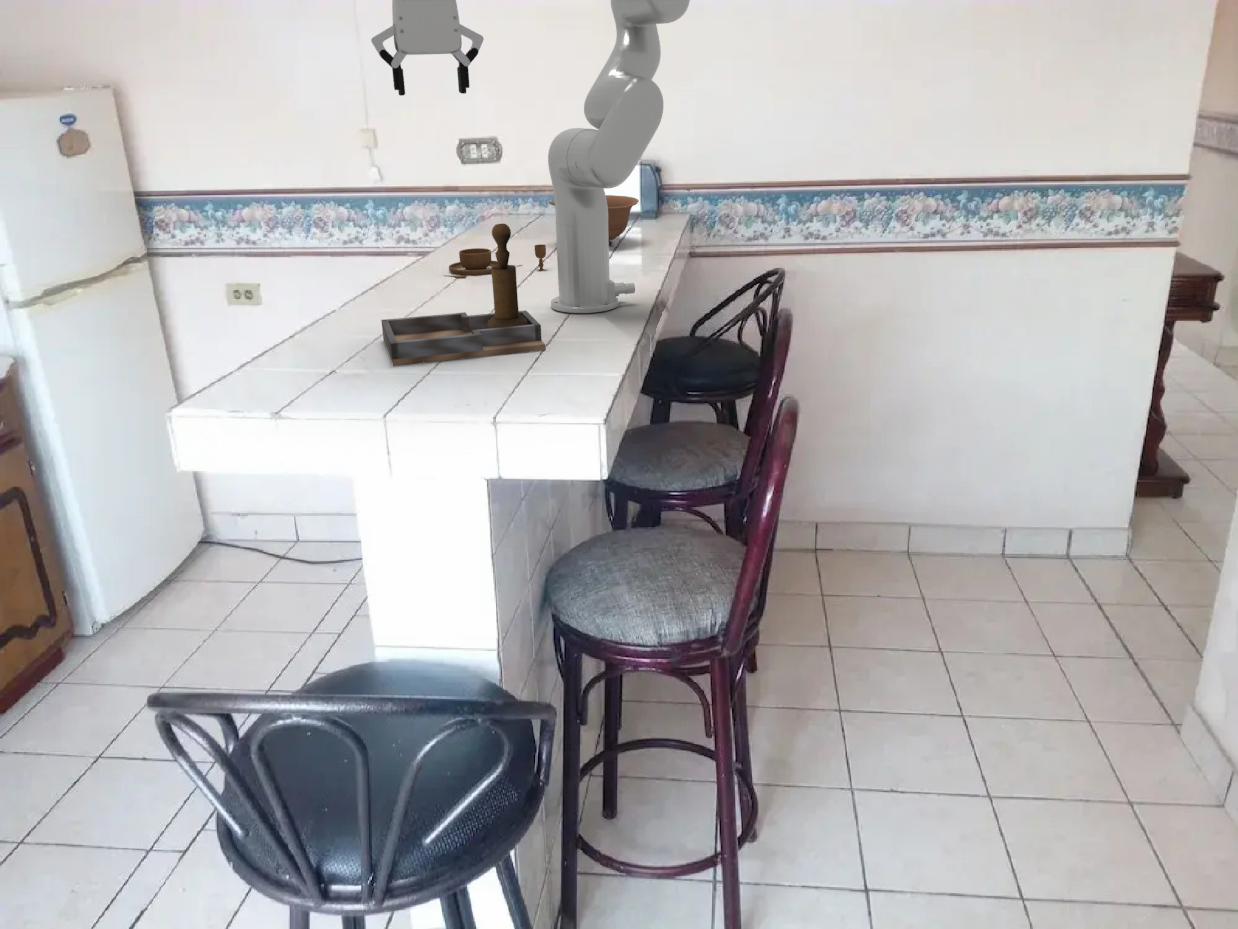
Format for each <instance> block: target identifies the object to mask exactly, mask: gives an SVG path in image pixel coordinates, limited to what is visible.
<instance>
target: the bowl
mask: <svg viewBox="0 0 1238 929" xmlns="http://www.w3.org/2000/svg"><path fill="white" fill-rule="evenodd" d="M605 195H606V200H607V206H608V236H609V247H611V246H612V245H614V243H613V242H612V240H615V239H616V238H618V237H619V236H621V235H623V234H624V232H625V231H626V229H627V227H628V224H629V218H630V213H631V210H632V207H634V206H636V205H637V204H638V203H639V199H638V198H636V197H632V196H626V195H614V194H613V195H611V194H610V195H608V194H605ZM548 204H550V205H551V206H554V207H555V200H549V201H548Z"/></svg>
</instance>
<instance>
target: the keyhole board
mask: <svg viewBox="0 0 1238 929" xmlns="http://www.w3.org/2000/svg"><path fill="white" fill-rule="evenodd" d="M519 314H520V315H522V316H523V317H524V318H525V319H527V325H521V326H510V327H500V328H489V329H488V325H487V323H488V321H489V320H490V319H491V318H492V317H493V316H495V312H494V313H484V314H483V313H482V314H473V315H472V314H471V315H470V314H469V315H468V313H466V312H454V313H443V314H434V315H433V314H432V315H423V316H411V317H398V318H387V319H380V320H381V321H380V322H381V328H382V329H381V330H382V337H383V338H382V339H383V342H384V345H385V348H386V351H387V353H388V356H389V358H390V361H391V364H392V366H393V367H394V366H404V365H414V364H424V363H423V362H426V363H434V362H443V361H452V360H453V361H454V360H462V358H465V359H472V358H483V357H484V358H485V357H492V356H502V355H503V354H504V355H511V354H512V353H513V354H520V353H521V352H523V353H530V351H533V352H540V350H543V351H546V343H545V342H544V341H543V340H542V324H540V323H539V322H538V321H537V320H536V319H535V318H534V317H533V316H532V315H531V313H529V312H528V311H527V310H519ZM521 354H522V353H521Z"/></svg>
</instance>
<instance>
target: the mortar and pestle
mask: <svg viewBox="0 0 1238 929" xmlns="http://www.w3.org/2000/svg"><path fill="white" fill-rule="evenodd" d="M511 235H512V230H511V228H510V227H509V225H508V224H507V223H497V224H495V225H494V226H493V227H492V229H491V236H492V238H493V240H494V241H495V243H496V246H497V250H496V252H495V253H494V254H495V258H496V261H497V262H498V264H499V266H495V267H490V269H491V272H492V274H491V280H492V281H491V282H492V294H493V307H494V313H495V316H493V317H492V318H491V319H490V320H489V321H488V323H487V325H488V329H489V328H500V327H510V326H521V325H527V319H525V318H524V317H523V316H522V315H520V314H519V311H520V310H519V299H518V288H517V268H516V265H514V264H513V265H512V264H509V262H510V261H509V259H510V251H508V248H507V244H508V242H509V241H510V239H511Z"/></svg>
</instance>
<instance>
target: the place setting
mask: <svg viewBox="0 0 1238 929" xmlns="http://www.w3.org/2000/svg"><path fill="white" fill-rule="evenodd" d="M458 254H459V261H458V262H455V263H451V264H450V265H448V270H449V272H450V273H451V274H453V275H443V277H449V278H450V277H451V278H455V279H466V278H467V277H472V276H473V277H474V276H477V277H478V276H487V275H492V272H491V268H492V267H495V266H499V264H498V262H497V260H492V251H491V249H489V248H483V247H481V248H479V247H477V248H475V247H474V248H466V249H461V250H460V251H458ZM534 255H535V257H536V258H537V259H538V262H539V263H538V267H539V268H538V271H542V272H544V269H545V268H543V267H544V263H543V262H544V258H545V257H546V255H547V246H546V244H535V245H534ZM520 266H522V264H520V265H515V267H520ZM488 267H490V268H488Z"/></svg>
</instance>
